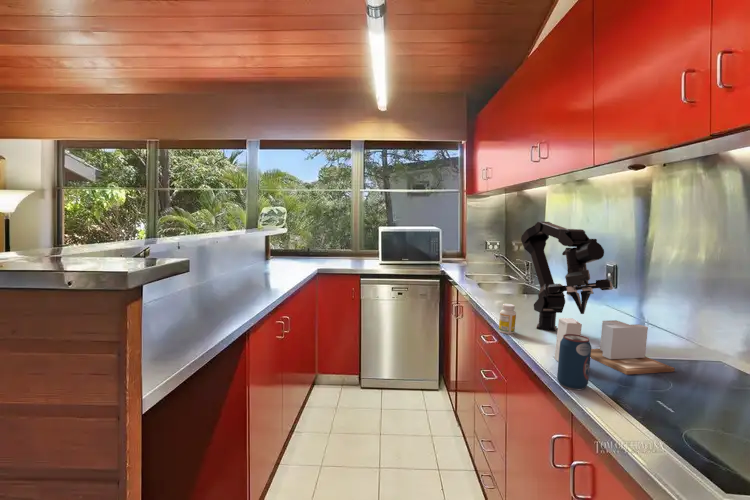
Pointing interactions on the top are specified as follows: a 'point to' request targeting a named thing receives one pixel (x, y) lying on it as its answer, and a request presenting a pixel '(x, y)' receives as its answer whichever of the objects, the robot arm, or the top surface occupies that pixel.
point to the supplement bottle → (507, 319)
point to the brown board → (631, 364)
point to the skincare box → (566, 331)
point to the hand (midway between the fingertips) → (582, 313)
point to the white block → (623, 340)
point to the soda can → (574, 361)
